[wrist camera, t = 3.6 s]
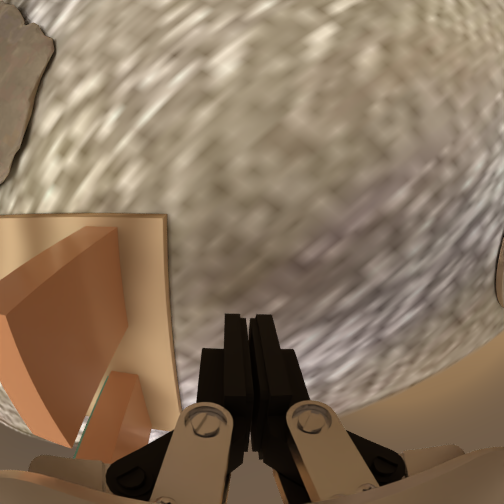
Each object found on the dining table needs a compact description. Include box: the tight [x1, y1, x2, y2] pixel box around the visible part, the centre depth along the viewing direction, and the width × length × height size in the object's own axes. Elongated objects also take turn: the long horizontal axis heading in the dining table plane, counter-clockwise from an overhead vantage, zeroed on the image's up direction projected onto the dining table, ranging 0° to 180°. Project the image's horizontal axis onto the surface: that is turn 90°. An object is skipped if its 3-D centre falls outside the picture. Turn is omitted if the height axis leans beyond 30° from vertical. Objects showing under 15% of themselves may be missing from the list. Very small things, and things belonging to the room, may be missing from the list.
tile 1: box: [0, 226, 128, 448], centre depth 10 cm, size 2×6×9 cm, turn 176°
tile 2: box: [73, 371, 152, 464], centre depth 13 cm, size 2×6×9 cm, turn 177°
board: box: [0, 213, 182, 431], centre depth 16 cm, size 19×17×1 cm
